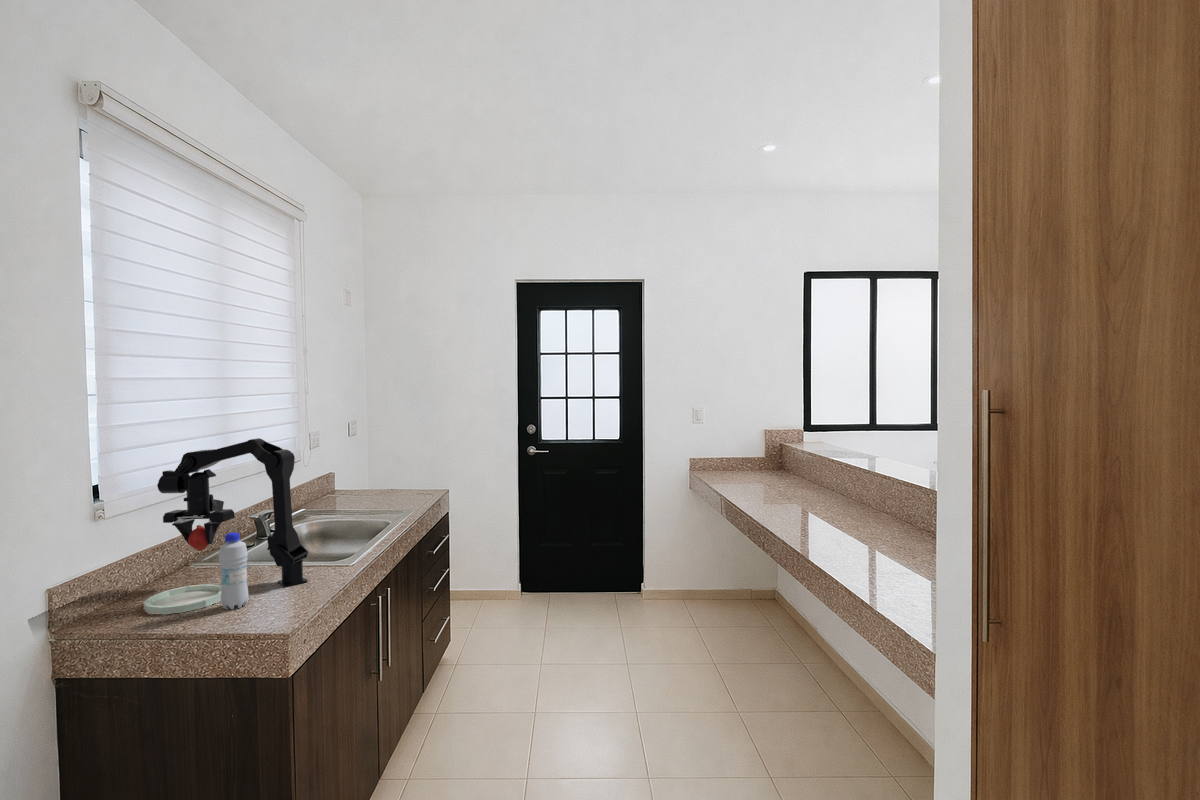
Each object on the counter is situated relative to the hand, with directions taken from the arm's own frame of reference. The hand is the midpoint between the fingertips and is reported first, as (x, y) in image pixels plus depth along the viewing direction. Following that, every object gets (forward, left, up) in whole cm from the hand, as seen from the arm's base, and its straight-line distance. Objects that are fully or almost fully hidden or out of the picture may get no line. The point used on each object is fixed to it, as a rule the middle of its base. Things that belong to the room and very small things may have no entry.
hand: (200, 544), depth 183 cm
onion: (0, 0, -2) cm, 2 cm away
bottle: (-30, 0, -12) cm, 32 cm away
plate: (-16, +8, -12) cm, 21 cm away
